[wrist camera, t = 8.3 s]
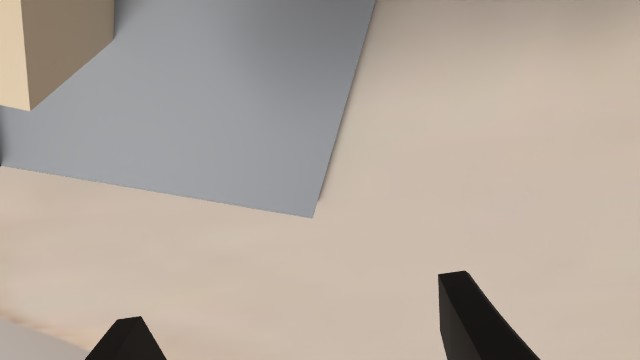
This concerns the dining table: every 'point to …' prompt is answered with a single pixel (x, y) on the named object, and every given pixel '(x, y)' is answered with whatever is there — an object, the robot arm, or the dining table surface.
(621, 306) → the dining table surface
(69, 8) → the carton
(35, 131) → the shelf board
